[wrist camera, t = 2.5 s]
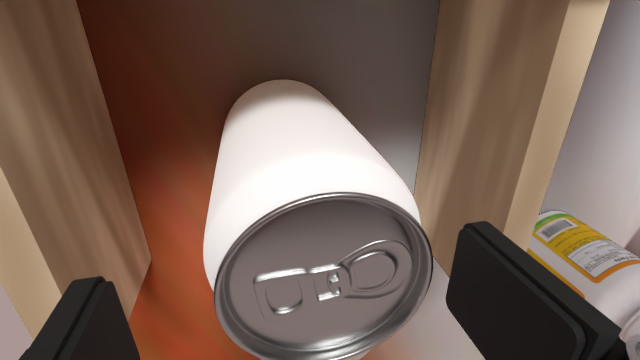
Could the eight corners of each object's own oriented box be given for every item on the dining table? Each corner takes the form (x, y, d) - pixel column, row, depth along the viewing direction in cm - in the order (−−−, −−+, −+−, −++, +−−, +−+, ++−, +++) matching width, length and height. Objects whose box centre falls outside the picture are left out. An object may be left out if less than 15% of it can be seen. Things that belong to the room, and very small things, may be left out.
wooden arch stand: (474, -46, 17) (670, -95, 9) (429, 223, 24) (517, 324, 16) (17, -56, 13) (-296, -148, 6) (125, 262, 21) (53, 413, 13)
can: (344, 175, 21) (444, 342, 10) (239, 197, 20) (233, 401, 10) (331, 67, 18) (456, 148, 7) (208, 89, 17) (149, 214, 7)
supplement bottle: (543, 269, 29) (668, 378, 20) (497, 257, 27) (613, 371, 18) (584, 217, 27) (741, 313, 18) (537, 201, 25) (688, 299, 17)
